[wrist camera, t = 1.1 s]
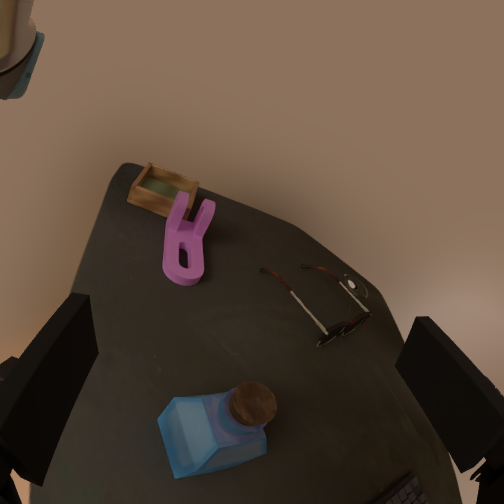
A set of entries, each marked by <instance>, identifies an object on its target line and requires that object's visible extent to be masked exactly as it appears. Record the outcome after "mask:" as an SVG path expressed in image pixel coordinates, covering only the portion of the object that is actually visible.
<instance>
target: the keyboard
mask: <svg viewBox="0 0 504 504" xmlns="http://www.w3.org/2000/svg"><path fill="white" fill-rule="evenodd" d="M371 504H429V502H428V500H427V497H426V495H425V493H424V492H423V491H422V488H421V486H420V484H419V481H418V479H417V477H416V476H415V474H414V473H411V474H409V475H406V476H404V477H403V478H402V479H400V480H399V481H398V482H397V483H396V484H395V485H393V486H392V487H391V488H390V489H389V490H387V491H386V492H385V493H384V494H382V495H381V496H380V497H378V498H377V499H376V500H375V501H373V502H372V503H371Z"/></svg>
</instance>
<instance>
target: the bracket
mask: <svg viewBox="0 0 504 504" xmlns="http://www.w3.org/2000/svg"><path fill="white" fill-rule="evenodd" d="M188 200H189V193H186V192H183V191H179V192H178V194H177V196H176V199H175V201H174V204H173V206H172V209H171V211H170V214H169V216H168V219H167V221H166V229H165V241H164V254H163V271H164V273H165V274H166V276H167V277H168V278H169V279H170V280H172V281H173V282H175V283H177V284H179V285H183V286H192V285H195V284H196V283H198V282H199V280H200V278H201V276H202V275H203V273H204V260H203V247H202V238H203V236H204V234H205V232H206V230H207V228H208V226H209V224H210V222H211V220H212V217H213V215H214V211H215V202H214V201H211V200H208V199H205V200H204V201H203V202H202V204H201V207H200V209H199V211H198V213H197V215H196V217H195V219H194V222H190V221H186V220H183V219H182V217H183V215H184V213H185V210H186V207H187V204H188ZM179 248H180V249H184V250H185V251H186V252H187V253H188V268H183V267H182V266H180V264H179Z"/></svg>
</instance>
